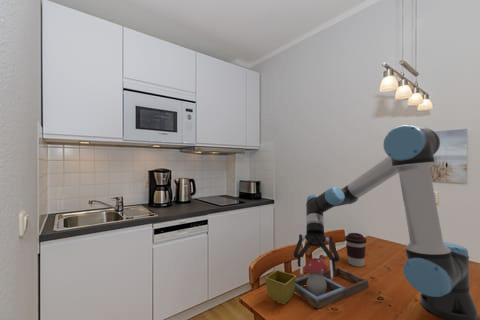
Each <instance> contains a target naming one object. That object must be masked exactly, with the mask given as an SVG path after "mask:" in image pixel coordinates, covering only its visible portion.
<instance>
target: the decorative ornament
mask: <svg viewBox="0 0 480 320" xmlns="http://www.w3.org/2000/svg"><path fill="white" fill-rule="evenodd" d="M325 260H326V257H325V255H323V254H320V255H319V256H318V258H316V257H313V258H311V259H310V260H309V261H308V262H306V264H305V265H304V268H303V271H304V272H305V273H306V274H309V275H310V276H309V277H308V280H307V286H305V289H306V290H307V291H309V292H310V293H312V294H313V295H315V296H317V297H318V296H320V295H323V294H326V293H327V288H326V287H327V285H326V281H325V279H324V277H323V273H324V272H327V270H328V267H327V265H326V263H325V262H324V261H325Z"/></svg>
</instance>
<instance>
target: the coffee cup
mask: <svg viewBox="0 0 480 320" xmlns="http://www.w3.org/2000/svg"><path fill="white" fill-rule="evenodd" d="M344 241H346V243H345V247H346V254H347V260H348V264H349V265H350V264H351V266H353V267H358V268H359V267H363V266H365V257H366V243H367V238H366V237H364V236H363V234H361V233H359V232H358V233H356V232H349V233H348V234H347V235H345V236H344Z"/></svg>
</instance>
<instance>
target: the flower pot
mask: <svg viewBox="0 0 480 320" xmlns="http://www.w3.org/2000/svg"><path fill="white" fill-rule="evenodd" d="M296 279H297V276H296V275H295V274H293V273H292V274H291V273H288V272H285V271H281V270H279V269H276V270H274V271H273V272H271V273H270V274H269V275H267V276H266V277H265V282H266V283H265V284H266V289H267V294H268V295H269V297H270V299H271V300H272V301H273V300H274V301H273V302H275V301H277V302H276V303H278V302H279V303H278V304H280V303H281V304H280V305H282V304H283V305H284V304H285V305H286V304H287V303H288V302H289V301H290V300H291V298H292V297H293V295H294V294H295V293H294V290H295V282H296ZM286 302H287V303H286ZM285 305H284V306H285Z"/></svg>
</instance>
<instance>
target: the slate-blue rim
mask: <svg viewBox="0 0 480 320" xmlns="http://www.w3.org/2000/svg"><path fill="white" fill-rule="evenodd" d="M309 276H310V274H307V275H303V276H300V277H298V278H296V282H299V281H302V280H305V279H308V277H309ZM323 277H324V276H323ZM324 279H325V281H327V282H329V283H331V284H333V285H334V286H336V287H338V288H339V289H336V290H333V291H329V292H326V293H325V294H323V295H320V296H318V297H317V296H315V295H313V294H312V293H310V292H309V291H307V289H306V288H304V287H301V286H299V285H298V284H296V282H295V287H297V288H298V289H300V290H301V291H303V292H304V293H306V294H307V295H309V296H310V297H312V298H313V299H315V300H316V301H319V300H321V299H324V298H326V297H329V296H331V295H334V294H336V293H339V292H341V291H344V290H346V287H344V286H343V285H340V284H339V283H337V282H334V281H333V280H331V279H330V278H328V279H327V278H326V277H324Z"/></svg>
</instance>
